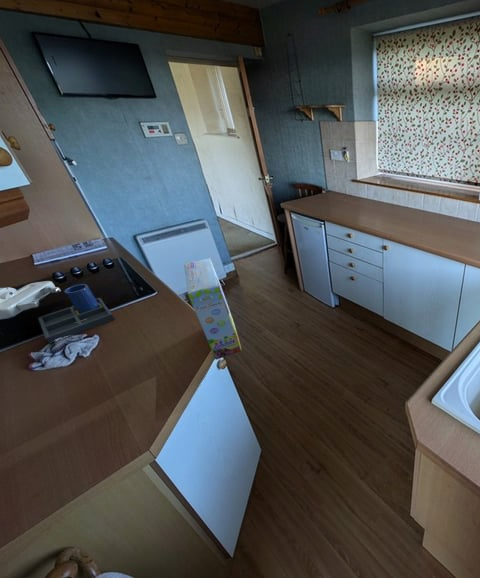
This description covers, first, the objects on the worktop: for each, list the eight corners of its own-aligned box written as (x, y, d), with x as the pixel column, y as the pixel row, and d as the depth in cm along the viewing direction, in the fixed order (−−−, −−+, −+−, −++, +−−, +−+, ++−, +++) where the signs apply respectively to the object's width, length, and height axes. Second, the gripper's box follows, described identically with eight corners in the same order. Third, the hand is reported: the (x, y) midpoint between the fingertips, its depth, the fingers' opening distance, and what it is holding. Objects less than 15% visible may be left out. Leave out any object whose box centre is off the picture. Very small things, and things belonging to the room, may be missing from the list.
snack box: (206, 325, 107) (182, 262, 94) (232, 317, 111) (212, 256, 98) (213, 361, 92) (185, 292, 78) (243, 351, 96) (221, 284, 83)
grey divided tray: (49, 344, 98) (45, 338, 97) (42, 323, 107) (37, 317, 106) (115, 319, 110) (111, 314, 108) (103, 302, 119) (99, 297, 118)
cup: (81, 317, 109) (66, 294, 104) (77, 310, 113) (63, 288, 107) (102, 309, 113) (88, 287, 108) (98, 304, 117) (85, 282, 112)
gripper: (34, 292, 116) (74, 289, 118) (-17, 323, 99) (30, 320, 101) (24, 278, 113) (65, 276, 115) (-31, 308, 95) (18, 305, 97)
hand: (48, 296), depth 108 cm, fingers open, 8 cm apart
